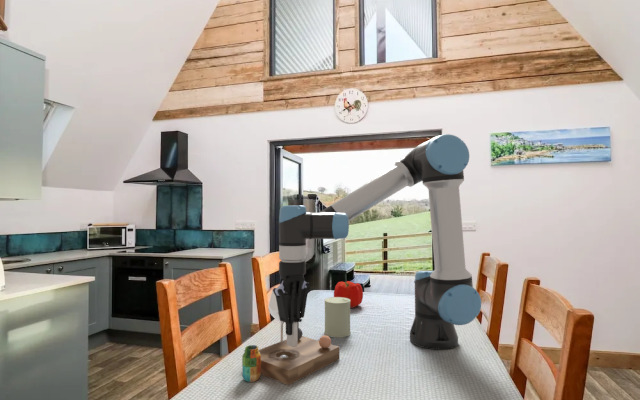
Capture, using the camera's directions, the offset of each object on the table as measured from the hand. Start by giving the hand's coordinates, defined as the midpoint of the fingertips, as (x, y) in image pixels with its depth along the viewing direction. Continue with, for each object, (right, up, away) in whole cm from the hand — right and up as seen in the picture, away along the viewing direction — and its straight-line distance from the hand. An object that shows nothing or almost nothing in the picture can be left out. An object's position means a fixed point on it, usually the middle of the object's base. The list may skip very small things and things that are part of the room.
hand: (292, 345), depth 105 cm
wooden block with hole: (+1, -5, 0) cm, 5 cm away
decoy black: (+1, 0, +9) cm, 10 cm away
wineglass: (-4, -6, +13) cm, 15 cm away
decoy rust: (+9, 0, +3) cm, 10 cm away
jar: (-10, -5, -9) cm, 14 cm away
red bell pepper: (+21, -7, +64) cm, 68 cm away
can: (+14, -6, +27) cm, 31 cm away
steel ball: (-2, -3, -3) cm, 5 cm away
